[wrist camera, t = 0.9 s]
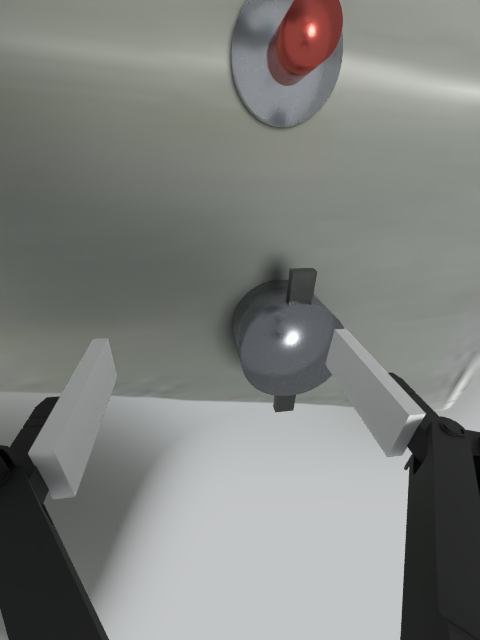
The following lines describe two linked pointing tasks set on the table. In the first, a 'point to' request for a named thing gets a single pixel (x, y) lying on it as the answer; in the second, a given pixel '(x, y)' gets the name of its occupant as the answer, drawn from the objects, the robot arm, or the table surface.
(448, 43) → the table surface
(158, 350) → the table surface
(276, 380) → the pot
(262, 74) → the lid
